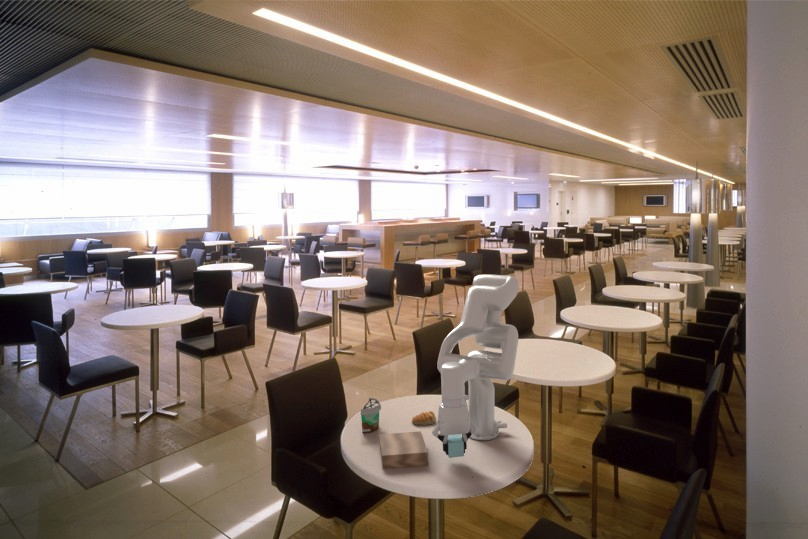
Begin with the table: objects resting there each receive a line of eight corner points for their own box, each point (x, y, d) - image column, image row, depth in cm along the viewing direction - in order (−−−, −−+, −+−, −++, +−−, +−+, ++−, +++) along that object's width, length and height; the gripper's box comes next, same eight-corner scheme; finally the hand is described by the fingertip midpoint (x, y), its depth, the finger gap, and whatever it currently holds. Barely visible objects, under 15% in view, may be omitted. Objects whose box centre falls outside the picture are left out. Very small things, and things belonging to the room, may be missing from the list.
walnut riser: (421, 443, 172) (421, 431, 172) (427, 465, 157) (427, 452, 157) (379, 446, 171) (379, 434, 170) (382, 468, 156) (382, 455, 155)
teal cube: (460, 448, 161) (460, 434, 160) (464, 456, 156) (463, 442, 155) (445, 449, 161) (445, 435, 160) (448, 457, 156) (448, 443, 155)
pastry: (416, 428, 185) (415, 418, 184) (409, 421, 191) (408, 412, 190) (437, 423, 188) (437, 414, 188) (430, 417, 194) (430, 408, 194)
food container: (377, 436, 178) (376, 410, 177) (361, 435, 179) (360, 409, 178) (385, 421, 190) (384, 397, 189) (370, 420, 191) (369, 396, 190)
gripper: (476, 393, 160) (476, 443, 163) (425, 397, 158) (427, 448, 161) (482, 402, 153) (482, 455, 156) (429, 407, 151) (431, 460, 154)
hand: (454, 451), depth 158 cm, fingers closed on teal cube, 4 cm apart
